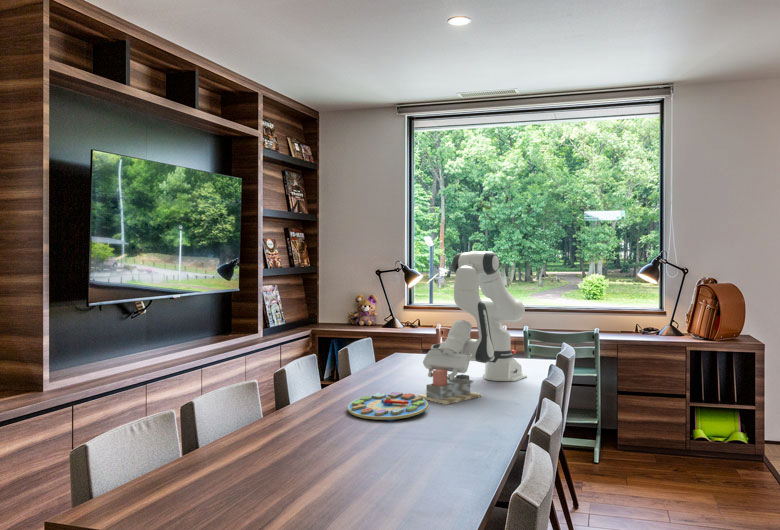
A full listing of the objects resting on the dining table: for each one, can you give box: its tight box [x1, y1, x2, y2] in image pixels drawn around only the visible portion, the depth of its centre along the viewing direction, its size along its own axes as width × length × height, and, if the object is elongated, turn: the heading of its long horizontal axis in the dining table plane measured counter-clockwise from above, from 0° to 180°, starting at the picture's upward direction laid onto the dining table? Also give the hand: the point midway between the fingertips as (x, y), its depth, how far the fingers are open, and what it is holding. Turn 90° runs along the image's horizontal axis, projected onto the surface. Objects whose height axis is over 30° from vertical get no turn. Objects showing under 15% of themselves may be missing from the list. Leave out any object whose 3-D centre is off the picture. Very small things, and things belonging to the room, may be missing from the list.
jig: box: [417, 373, 482, 405], centre depth 266 cm, size 22×16×8 cm
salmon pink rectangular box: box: [432, 369, 448, 387], centre depth 262 cm, size 6×4×9 cm, turn 141°
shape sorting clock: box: [347, 391, 429, 422], centre depth 242 cm, size 31×30×6 cm
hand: (439, 377), depth 262 cm, fingers open, 8 cm apart
